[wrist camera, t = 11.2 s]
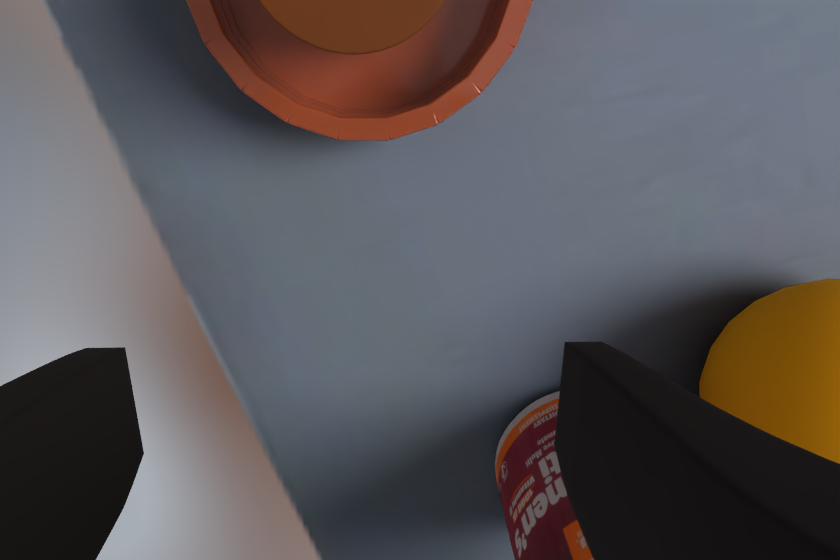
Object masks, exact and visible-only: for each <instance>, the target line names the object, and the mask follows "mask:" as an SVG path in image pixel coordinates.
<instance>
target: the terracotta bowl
mask: <svg viewBox="0 0 840 560" xmlns="http://www.w3.org/2000/svg"><path fill="white" fill-rule="evenodd" d="M186 2H187V4H188V7H189V9H190V11H191V14H192V16H193V19H194V21H195V24H196V26H197V28H198V31H199V33H200V36H201V38H202V40H203V42H204V43H205V44H206V48H207V49H208V50H209V51H210V53H211V54H212V55H213V56H214V58H215V59H216V60H217V61H218V63H219V64H220V65H221V66H222V68H223V69H224V70H225V72H226V73H227V74H228V75H229V77H230V78H231V79H232V80H233V82H234V83H235V84H236V85H237V87H238V88H239V89H240V90H242V91H243V93H244V94H246V95H247V96H249V97H250V98H251V99H253V100H254V101H256V102H257V103H258V104H260V105H261V106H263V107H264V108H266V109H267V110H268V111H270V112H271V113H273V114H274V115H275V116H277V117H278V118H280V119H281V120H283V121H284V122H288V124H290V125H293V126H296V127H299V128H302V129H305V130H308V131H311V132H314V133H317V134H320V135H323V136H326V137H330V138H333V139H338V140H389V139H390V140H392V139H395V138H398V137H401V136H405V135H408V134H411V133H414V132H417V131H420V130H423V129H426V128H429V127H432V126H435V125H437V124H438V123H441V122H443V121H444V120H445V119H447V118H448V117H450V116H451V115H452V114H454V113H455V112H456V111H458V110H459V109H461V108H462V107H463V106H465V105H466V104H467V103H469V102H470V101H472V100H473V99H474V98H476V97H477V96H478V95H480V93H481V92H482V91H484V89H485V88H486V87H487V85H488V84H489V83H490V81H491V80H492V79H493V77H494V76H495V75H496V73H497V72H498V71H499V69H500V68H501V67H502V65H503V64H504V63H505V61H506V60H507V59H508V57H509V56H510V55H511V53H512V52H513V51H514V47H516V45H517V43H518V40H519V37H520V34H521V32H522V29H523V26H524V23H525V21H526V18H527V15H528V13H529V10H530V7H531V4H532V2H533V0H445V2H444V3H443V5H442V7H441V8H440V10H439V11H438V12H437V13H436V15H435V16H434V17H433V18H432V19H431V21H430V22H429V23H428V24H426V25H425V26H424V27H423V28H422V29H421V30H420V31H419V32H417V33H416V34H415V35H413V36H412V37H410V38H409V39H407V40H406V41H404V42H402V43H400V44H398V45H396V46H394V47H391V48H388V49H385V50H383V51H379V52H374V53H369V54H356V55H350V54H338V53H334V52H329V51H325V50H322V49H319V48H316V47H314V46H311V45H309V44H307V43H305V42H303V41H301V40H299V39H297V38H296V37H295V36H293V35H292V34H290V33H289V32H287V31H286V30H285V29H283V28H282V27H281V26H280V25H279V24H278V23H277V22H276V21H275V20H273V18H272V17H271V16H270V15H269V14H268V13H267V12H266V10H265V9H264V8H263V7H262V5H261V4H260V3H259V1H258V0H186Z"/></svg>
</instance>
